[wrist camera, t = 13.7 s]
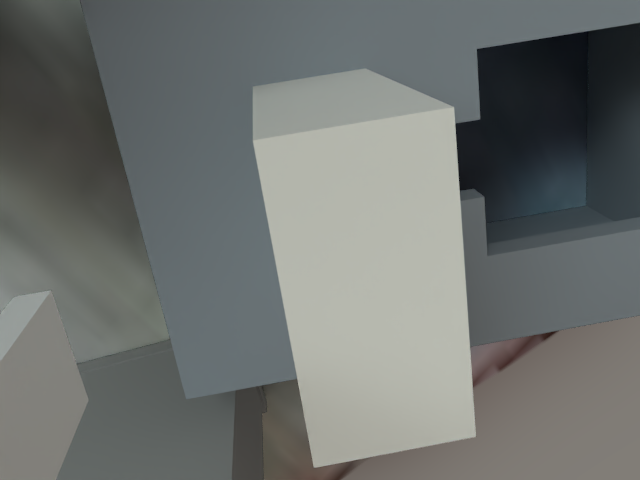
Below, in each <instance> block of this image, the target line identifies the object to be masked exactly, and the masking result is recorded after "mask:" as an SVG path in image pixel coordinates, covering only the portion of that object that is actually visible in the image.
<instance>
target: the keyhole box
mask: <svg viewBox="0 0 640 480" xmlns="http://www.w3.org/2000/svg"><path fill="white" fill-rule="evenodd" d="M80 3H81V7H82V11H83V14H84V18H85V22H86V26H87V29H88V33H89V37H90V41H91V44H92V48H93V52H94V56H95V59H96V63H97V67H98V71H99V74H100V78H101V82H102V86H103V89H104V93H105V97H106V101H107V104H108V108H109V112H110V116H111V119H112V123H113V127H114V131H115V134H116V138H117V142H118V146H119V149H120V153H121V157H122V161H123V164H124V168H125V172H126V176H127V179H128V183H129V187H130V191H131V194H132V198H133V202H134V206H135V209H136V213H137V217H138V221H139V224H140V228H141V232H142V236H143V239H144V243H145V247H146V251H147V254H148V258H149V262H150V266H151V269H152V273H153V277H154V281H155V284H156V288H157V292H158V295H159V299H160V303H161V307H162V310H163V314H164V318H165V322H166V325H167V329H168V333H169V337H170V340H171V344H172V348H173V352H174V355H175V359H176V363H177V367H178V370H179V374H180V378H181V382H182V385H183V389H184V393H185V397H186V399H191V398H196V397H202V396H207V395H213V394H218V393H224V392H229V391H234V390H240V389H245V388H251V387H256V386H261V385H267V384H272V383H278V382H283V381H288V380H294V379H297V375H296V369H295V364H294V359H293V353H292V348H291V343H290V337H289V332H288V327H287V321H286V316H285V310H284V305H283V300H282V294H281V289H280V284H279V278H278V273H277V268H276V262H275V257H274V252H273V246H272V241H271V235H270V230H269V225H268V219H267V214H266V209H265V203H264V198H263V193H262V187H261V182H260V177H259V171H258V166H257V160H256V155H255V150H254V144H253V86H259V85H266V84H272V83H278V82H284V81H290V80H297V79H303V78H309V77H315V76H321V75H328V74H334V73H340V72H346V71H352V70H359V69H365V68H366V69H368V70H370V71H373V72H375V73H377V74H380V75H382V76H384V77H386V78H389V79H391V80H393V81H396V82H398V83H400V84H402V85H405V86H407V87H409V88H412V89H414V90H416V91H418V92H421V93H423V94H425V95H428V96H430V97H432V98H435V99H437V100H439V101H441V102H444V103H446V104H448V105H451V106H453V107H454V113H455V124H456V123H462V122H468V121H474V120H480V102H479V83H478V63H477V49H480V48H486V47H492V46H498V45H505V44H511V43H517V42H523V41H529V40H536V39H542V38H548V37H554V36H560V35H567V34H573V33H579V32H585V31H588V97H587V190H586V206H582V207H576V208H571V209H565V210H559V211H554V212H548V213H542V214H537V215H531V216H525V217H519V218H514V219H508V220H502V221H497V222H491V223H486V218H485V199H484V196H483V195H481V194H480V193H479V192H477V191H476V190H475V189H469V190H464V191H460V204H461V219H462V234H463V249H464V264H465V279H466V294H467V309H468V324H469V339H470V347H472V346H478V345H483V344H488V343H494V342H499V341H505V340H510V339H515V338H521V337H526V336H532V335H537V334H542V333H548V332H553V331H559V330H564V329H569V328H575V327H580V326H586V325H591V324H596V323H601V322H607V321H613V320H618V319H623V318H629V317H634V316H639V315H640V0H80Z"/></svg>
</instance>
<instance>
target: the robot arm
mask: <svg viewBox="0 0 640 480" xmlns="http://www.w3.org/2000/svg"><path fill="white" fill-rule="evenodd" d="M88 401H89V399H88V396H87V394H86V391H85V388H84V385H83V382H82V379H81V376H80V373H79V370H78V367H77V364H76V361H75V358H74V355H73V352H72V349H71V346H70V343H69V341H68V338H67V335H66V332H65V329H64V326H63V323H62V320H61V317H60V314H59V311H58V308H57V305H56V302H55V299H54V296H53V293H52V290H49V291H43V292H38V293H32V294H26V295H21V296H15V297H13V299H12V300H11V301H10V302H9V303H8V305H7V306H6V307H5V308H4V309H3V311H2V312H1V313H0V480H56V478H57V476H58V473H59V471H60V468H61V466H62V463H63V461H64V459H65V456H66V454H67V451H68V449H69V446H70V444H71V442H72V439H73V437H74V434H75V432H76V430H77V427H78V425H79V422H80V420H81V417H82V415H83V413H84V410H85V408H86V405H87V403H88Z"/></svg>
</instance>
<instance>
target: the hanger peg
mask: <svg viewBox="0 0 640 480" xmlns="http://www.w3.org/2000/svg"><path fill="white" fill-rule="evenodd" d="M253 144H254V150H255V155H256V160H257V166H258V171H259V177H260V182H261V187H262V193H263V198H264V203H265V209H266V214H267V219H268V225H269V230H270V235H271V241H272V246H273V252H274V257H275V262H276V268H277V273H278V278H279V284H280V289H281V294H282V300H283V305H284V310H285V316H286V321H287V327H288V332H289V337H290V343H291V348H292V353H293V359H294V364H295V369H296V375H297V380H298V385H299V391H300V396H301V402H302V407H303V412H304V418H305V423H306V428H307V434H308V439H309V444H310V450H311V455H312V460H313V466H314V468H317V467H322V466H327V465H332V464H338V463H343V462H348V461H353V460H358V459H364V458H369V457H374V456H379V455H384V454H390V453H395V452H400V451H405V450H410V449H415V448H421V447H426V446H431V445H436V444H441V443H446V442H452V441H457V440H462V439H467V438H472V437H476V431H475V430H476V429H475V414H474V400H473V384H472V369H471V354H470V339H469V324H468V309H467V294H466V279H465V264H464V249H463V234H462V219H461V204H460V188H459V173H458V158H457V143H456V128H455V113H454V107H453V106H451V105H448V104H446V103H444V102H441V101H439V100H437V99H435V98H432V97H430V96H428V95H425V94H423V93H421V92H418V91H416V90H414V89H412V88H409V87H407V86H405V85H402V84H400V83H398V82H396V81H393V80H391V79H389V78H386V77H384V76H382V75H380V74H377V73H375V72H373V71H370V70H368V69H366V68H365V69H359V70H352V71H346V72H340V73H334V74H328V75H321V76H315V77H309V78H303V79H297V80H290V81H284V82H278V83H272V84H266V85H259V86H253Z"/></svg>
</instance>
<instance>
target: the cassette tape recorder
mask: <svg viewBox="0 0 640 480" xmlns="http://www.w3.org/2000/svg"><path fill="white" fill-rule="evenodd" d="M77 367H78V370H79V373H80V376H81V379H82V382H83V385H84V388H85V391H86V394H87V396H88V399H89V401H88V403H87V405H86V408H85V410H84V413H83V415H82V417H81V420H80V422H79V425H78V427H77V430H76V432H75V434H74V437H73V439H72V442H71V444H70V446H69V449H68V451H67V454H66V456H65V459H64V461H63V463H62V466H61V468H60V471H59V473H58V476H57V478H56V480H264V471H263V432H262V413H265V412H267V401H266V398H265V395H264V392H263V389H262V386H256V387H251V388H245V389H240V390H234V391H229V392H224V393H218V394H213V395H207V396H202V397H196V398H191V399H186V397H185V393H184V389H183V385H182V382H181V378H180V374H179V370H178V367H177V363H176V359H175V355H174V352H173V348H172V344H171V340H167V341H163V342H159V343H155V344H152V345H148V346H144V347H140V348H136V349H133V350H129V351H125V352H121V353H117V354H114V355H110V356H106V357H102V358H98V359H95V360H91V361H87V362H83V363H80V364H77Z"/></svg>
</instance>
